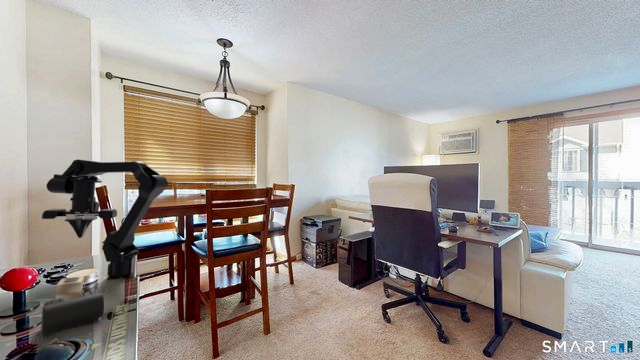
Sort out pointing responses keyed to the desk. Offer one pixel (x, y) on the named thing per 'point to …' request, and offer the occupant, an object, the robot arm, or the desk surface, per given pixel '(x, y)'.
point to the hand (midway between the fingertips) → (80, 237)
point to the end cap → (71, 312)
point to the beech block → (70, 288)
